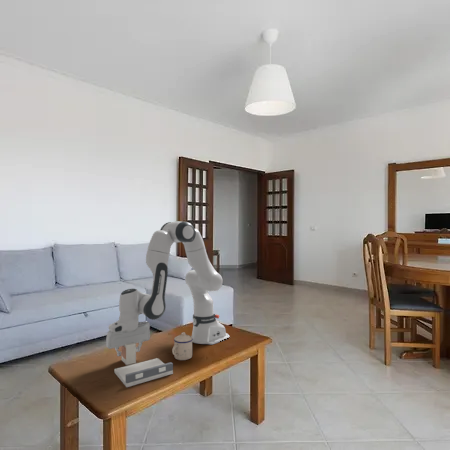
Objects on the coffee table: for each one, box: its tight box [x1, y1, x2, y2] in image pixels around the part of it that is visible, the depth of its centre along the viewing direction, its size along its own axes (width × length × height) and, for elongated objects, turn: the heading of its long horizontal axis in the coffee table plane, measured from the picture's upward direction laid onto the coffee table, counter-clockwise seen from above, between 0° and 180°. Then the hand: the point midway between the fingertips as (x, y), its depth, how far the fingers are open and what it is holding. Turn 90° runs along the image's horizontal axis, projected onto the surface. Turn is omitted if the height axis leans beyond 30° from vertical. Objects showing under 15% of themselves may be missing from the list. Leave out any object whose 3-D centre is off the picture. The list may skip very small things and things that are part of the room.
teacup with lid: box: [171, 331, 193, 361], centre depth 153 cm, size 12×9×12 cm
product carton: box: [120, 342, 137, 366], centre depth 149 cm, size 7×5×9 cm
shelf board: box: [114, 357, 174, 388], centre depth 136 cm, size 20×16×4 cm
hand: (128, 353), depth 149 cm, fingers open, 8 cm apart
